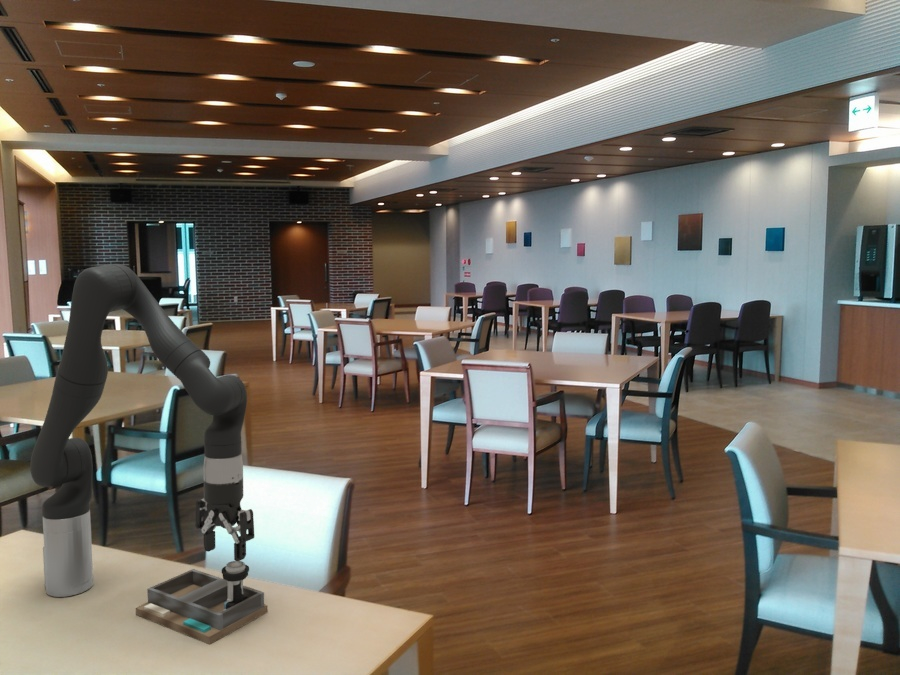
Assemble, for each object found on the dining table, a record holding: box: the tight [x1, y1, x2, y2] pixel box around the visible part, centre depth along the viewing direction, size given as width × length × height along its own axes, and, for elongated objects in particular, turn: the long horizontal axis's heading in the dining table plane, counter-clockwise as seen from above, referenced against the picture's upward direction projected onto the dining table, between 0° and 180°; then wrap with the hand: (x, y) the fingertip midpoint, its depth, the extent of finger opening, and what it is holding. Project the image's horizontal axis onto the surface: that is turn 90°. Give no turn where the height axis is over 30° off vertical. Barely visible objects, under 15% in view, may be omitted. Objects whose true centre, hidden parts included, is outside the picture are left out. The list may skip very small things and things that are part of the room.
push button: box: [221, 560, 250, 611], centre depth 145 cm, size 7×5×10 cm
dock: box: [135, 568, 268, 645], centre depth 148 cm, size 22×15×4 cm
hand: (224, 554), depth 145 cm, fingers open, 8 cm apart
